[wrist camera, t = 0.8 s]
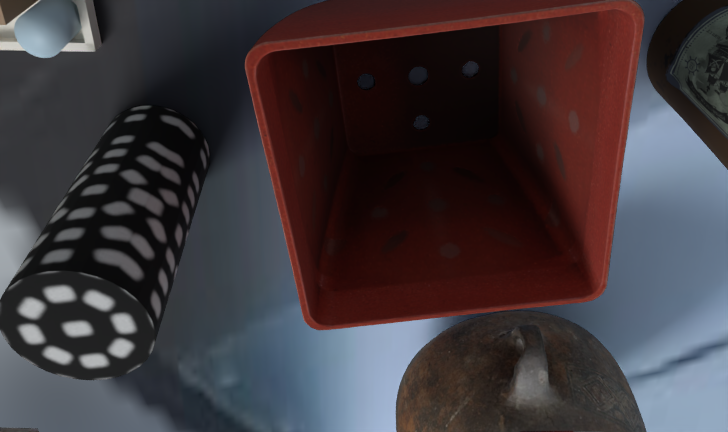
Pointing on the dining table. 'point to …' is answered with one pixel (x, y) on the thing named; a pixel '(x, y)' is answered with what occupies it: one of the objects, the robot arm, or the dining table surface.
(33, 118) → the dining table surface
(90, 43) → the caddy tray
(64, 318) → the white-spotted black cylinder
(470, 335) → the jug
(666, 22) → the olive oil
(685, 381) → the dining table surface
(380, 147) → the plant pot
